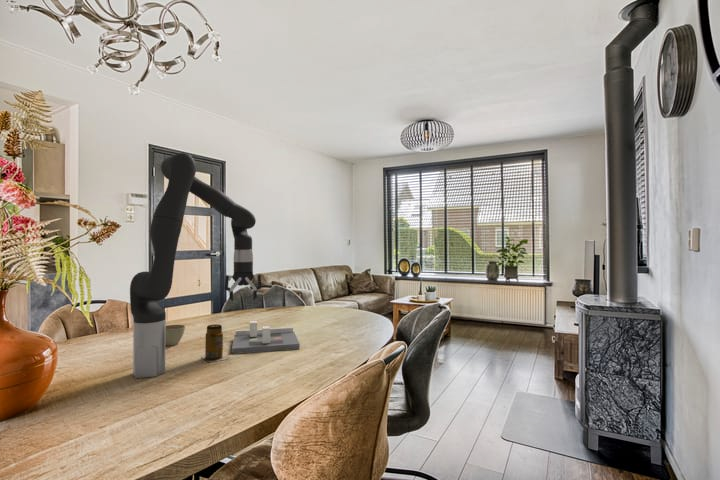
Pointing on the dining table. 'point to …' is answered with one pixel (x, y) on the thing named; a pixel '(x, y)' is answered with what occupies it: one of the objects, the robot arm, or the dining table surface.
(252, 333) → the breaker
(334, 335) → the dining table surface
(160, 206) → the robot arm
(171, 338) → the flower pot
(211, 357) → the condiment
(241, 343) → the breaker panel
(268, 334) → the block
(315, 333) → the dining table surface
